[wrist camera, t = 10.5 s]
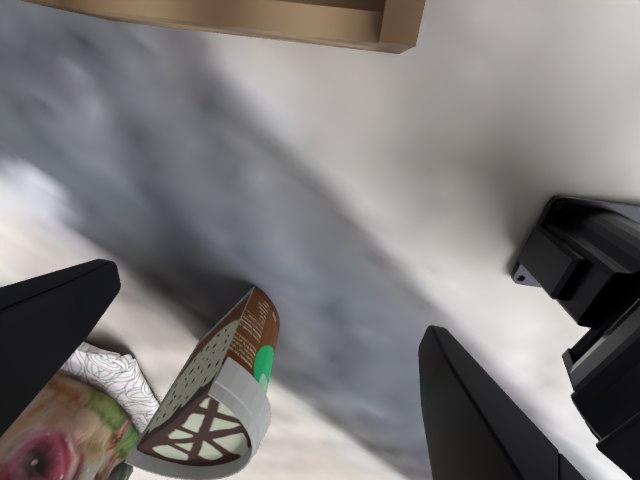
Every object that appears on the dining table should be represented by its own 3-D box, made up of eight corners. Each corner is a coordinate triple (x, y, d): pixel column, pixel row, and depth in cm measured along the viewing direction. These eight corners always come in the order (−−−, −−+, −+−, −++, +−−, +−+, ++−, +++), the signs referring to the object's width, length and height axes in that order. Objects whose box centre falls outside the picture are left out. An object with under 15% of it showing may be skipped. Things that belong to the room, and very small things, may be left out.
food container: (243, 380, 31) (198, 501, 22) (191, 348, 29) (121, 465, 20) (323, 317, 25) (306, 444, 17) (265, 274, 24) (213, 389, 15)
